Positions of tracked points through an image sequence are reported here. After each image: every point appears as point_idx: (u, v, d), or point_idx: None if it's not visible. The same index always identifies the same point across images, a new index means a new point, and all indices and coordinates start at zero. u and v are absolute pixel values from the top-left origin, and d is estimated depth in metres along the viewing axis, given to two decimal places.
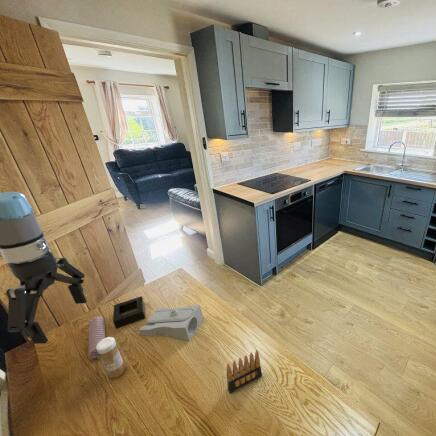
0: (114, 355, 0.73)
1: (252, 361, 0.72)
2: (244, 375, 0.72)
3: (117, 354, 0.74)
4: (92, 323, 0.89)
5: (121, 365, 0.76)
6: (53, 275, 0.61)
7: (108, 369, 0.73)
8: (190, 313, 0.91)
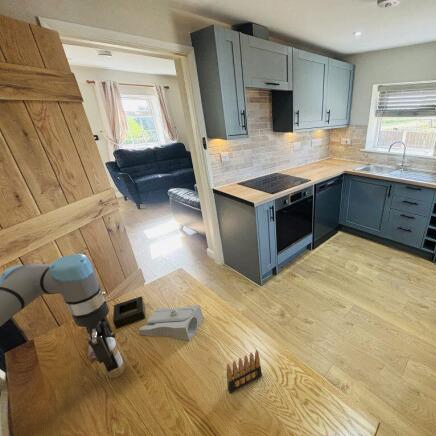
0: (114, 355, 0.73)
1: (252, 361, 0.72)
2: (244, 375, 0.72)
3: (117, 354, 0.74)
4: None
5: (121, 365, 0.76)
6: (105, 318, 0.70)
7: None
8: (190, 313, 0.91)
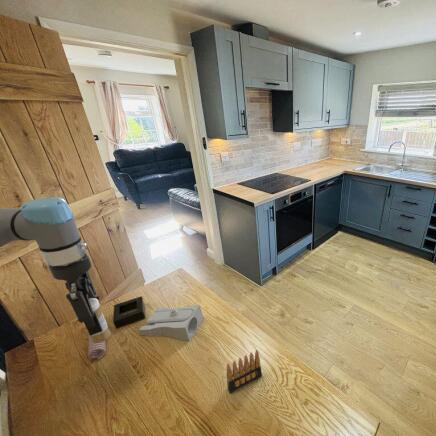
0: (98, 317, 0.67)
1: (252, 361, 0.72)
2: (244, 375, 0.72)
3: (101, 317, 0.68)
4: None
5: (106, 330, 0.70)
6: (87, 275, 0.64)
7: None
8: (190, 313, 0.91)
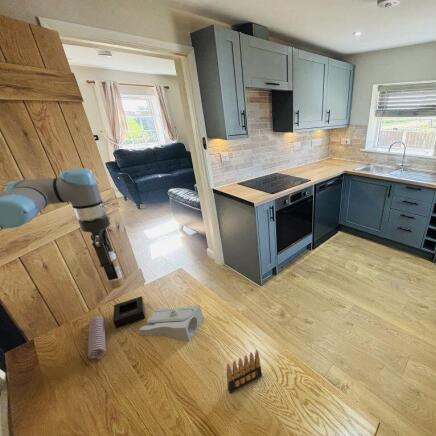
0: (114, 266, 0.84)
1: (252, 361, 0.72)
2: (244, 375, 0.72)
3: (117, 267, 0.85)
4: (92, 323, 0.89)
5: (120, 278, 0.87)
6: (106, 232, 0.81)
7: None
8: (190, 313, 0.91)
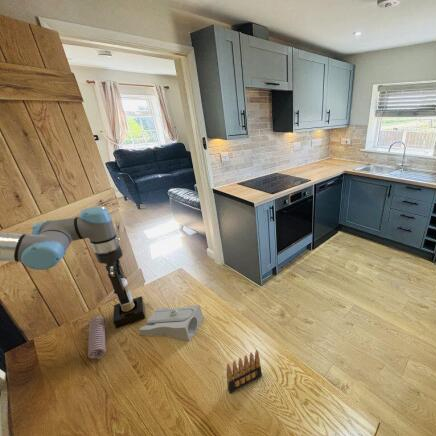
0: (126, 292, 0.92)
1: (252, 361, 0.72)
2: (244, 375, 0.72)
3: (128, 292, 0.93)
4: (92, 323, 0.89)
5: (131, 301, 0.95)
6: (119, 261, 0.89)
7: None
8: (190, 313, 0.91)
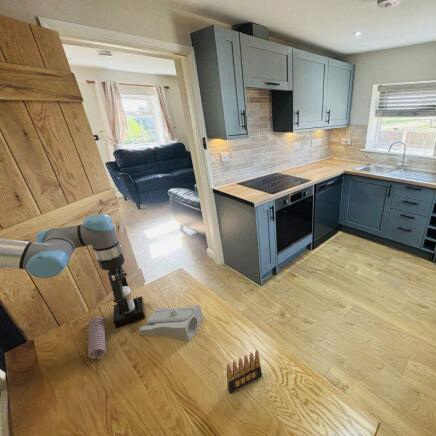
0: (129, 299, 0.94)
1: (252, 361, 0.72)
2: (244, 375, 0.72)
3: (131, 299, 0.95)
4: (92, 323, 0.89)
5: (134, 309, 0.97)
6: (121, 267, 0.91)
7: None
8: (190, 313, 0.91)
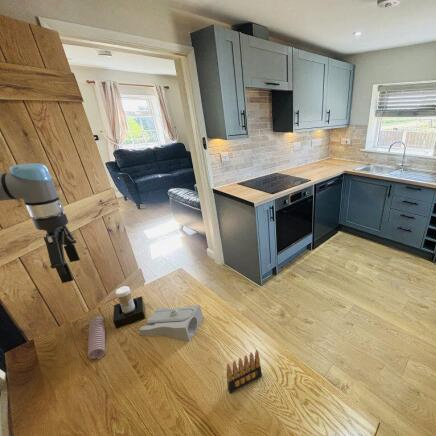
0: (129, 299, 0.94)
1: (252, 361, 0.72)
2: (244, 375, 0.72)
3: (131, 299, 0.95)
4: (92, 323, 0.89)
5: (134, 309, 0.97)
6: (65, 230, 0.78)
7: (124, 311, 0.95)
8: (190, 313, 0.91)
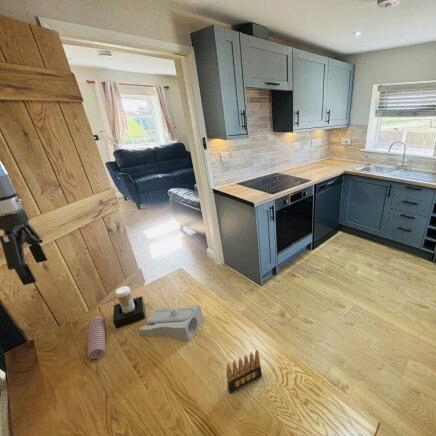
0: (129, 299, 0.94)
1: (252, 361, 0.72)
2: (244, 375, 0.72)
3: (131, 299, 0.95)
4: (92, 323, 0.89)
5: (134, 309, 0.97)
6: (26, 229, 0.74)
7: (124, 311, 0.95)
8: (190, 313, 0.91)
